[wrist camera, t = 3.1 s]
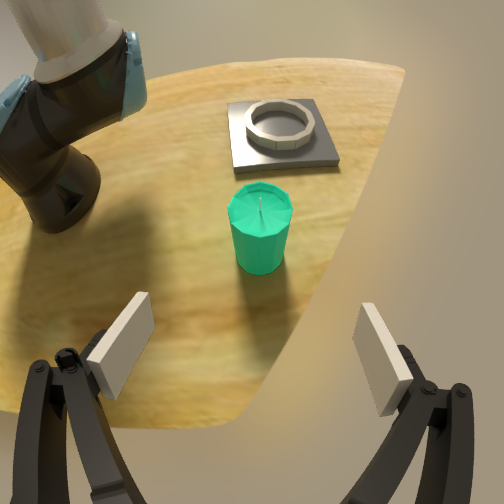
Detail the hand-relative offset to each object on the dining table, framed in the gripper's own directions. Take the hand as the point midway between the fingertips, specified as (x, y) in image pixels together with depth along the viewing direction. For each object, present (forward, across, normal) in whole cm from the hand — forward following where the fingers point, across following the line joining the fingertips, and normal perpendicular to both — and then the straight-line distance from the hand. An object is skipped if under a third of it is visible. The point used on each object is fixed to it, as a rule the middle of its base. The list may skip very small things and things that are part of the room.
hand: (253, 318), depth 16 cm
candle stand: (+34, +2, +12) cm, 36 cm away
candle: (+19, 0, -3) cm, 19 cm away
